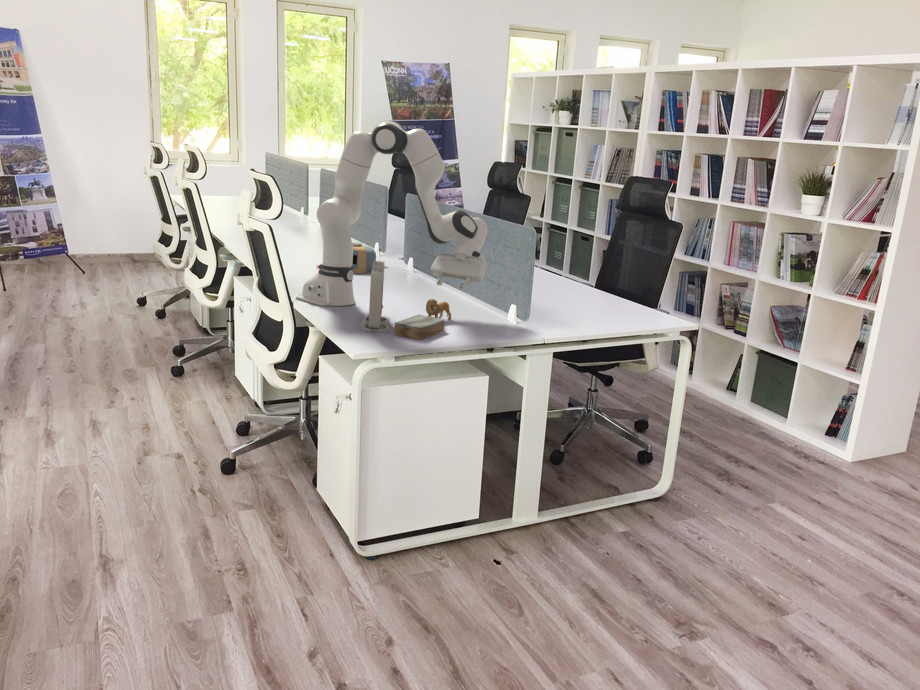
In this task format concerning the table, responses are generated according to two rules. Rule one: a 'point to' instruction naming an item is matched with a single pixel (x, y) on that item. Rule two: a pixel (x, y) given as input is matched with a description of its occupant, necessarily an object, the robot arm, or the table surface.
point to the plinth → (419, 327)
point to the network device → (376, 300)
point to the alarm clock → (362, 258)
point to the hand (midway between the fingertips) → (450, 286)
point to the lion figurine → (437, 308)
